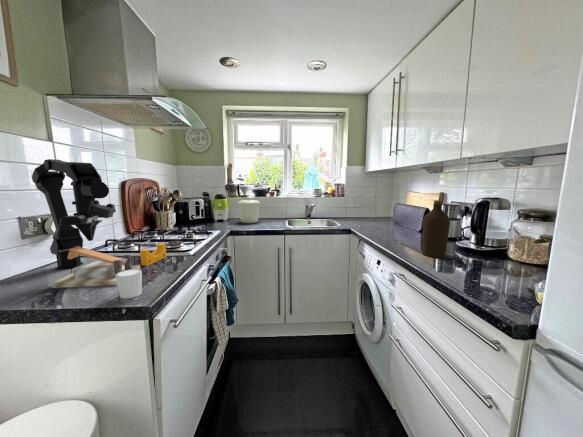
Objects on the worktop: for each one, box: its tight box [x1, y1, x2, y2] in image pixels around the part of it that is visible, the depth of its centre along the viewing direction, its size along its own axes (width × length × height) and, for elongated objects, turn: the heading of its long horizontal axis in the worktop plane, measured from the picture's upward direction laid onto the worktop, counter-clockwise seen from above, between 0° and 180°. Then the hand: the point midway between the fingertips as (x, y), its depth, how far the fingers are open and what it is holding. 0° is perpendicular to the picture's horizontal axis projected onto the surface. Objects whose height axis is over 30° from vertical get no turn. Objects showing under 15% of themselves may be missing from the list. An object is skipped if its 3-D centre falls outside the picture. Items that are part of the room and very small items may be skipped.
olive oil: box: [421, 199, 451, 259], centre depth 116 cm, size 11×11×25 cm
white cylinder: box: [115, 269, 143, 299], centre depth 78 cm, size 7×7×7 cm
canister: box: [237, 196, 261, 224], centre depth 206 cm, size 18×18×21 cm
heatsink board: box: [51, 254, 141, 289], centre depth 92 cm, size 20×16×7 cm
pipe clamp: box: [139, 242, 167, 267], centre depth 110 cm, size 12×4×6 cm, turn 169°
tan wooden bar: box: [67, 246, 128, 266], centre depth 91 cm, size 17×5×4 cm, turn 97°
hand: (90, 240), depth 94 cm, fingers closed
